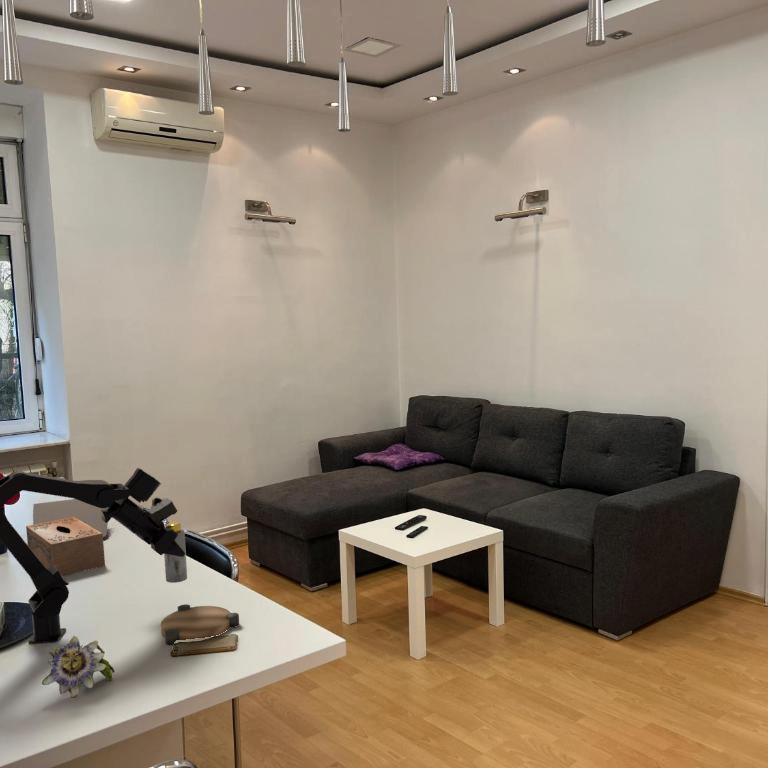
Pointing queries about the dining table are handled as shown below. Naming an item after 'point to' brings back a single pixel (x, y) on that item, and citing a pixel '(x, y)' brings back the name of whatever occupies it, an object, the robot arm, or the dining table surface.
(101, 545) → the tissue box cover
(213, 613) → the base plate
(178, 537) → the gold-capped silver cylinder
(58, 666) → the passion flower
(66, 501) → the portable electronic device stand
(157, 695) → the dining table surface
